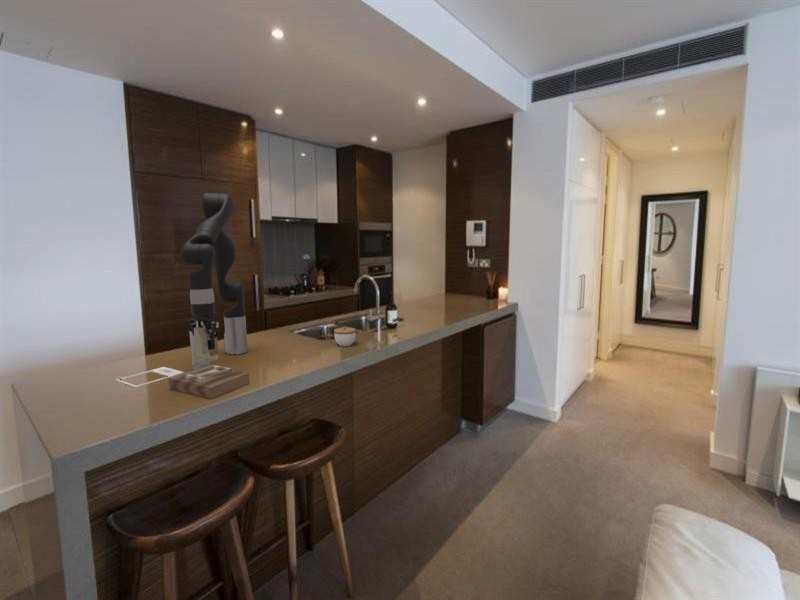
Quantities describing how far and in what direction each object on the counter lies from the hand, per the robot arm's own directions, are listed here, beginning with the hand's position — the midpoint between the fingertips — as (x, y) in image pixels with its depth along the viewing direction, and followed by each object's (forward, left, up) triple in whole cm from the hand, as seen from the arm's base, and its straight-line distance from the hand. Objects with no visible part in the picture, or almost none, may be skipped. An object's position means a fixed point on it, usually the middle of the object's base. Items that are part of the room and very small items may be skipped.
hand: (206, 348), depth 143 cm
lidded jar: (+12, +68, -14) cm, 70 cm away
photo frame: (-30, -3, -15) cm, 34 cm away
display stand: (0, 0, -14) cm, 14 cm away
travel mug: (-19, +11, -14) cm, 26 cm away
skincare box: (0, 0, -4) cm, 4 cm away
